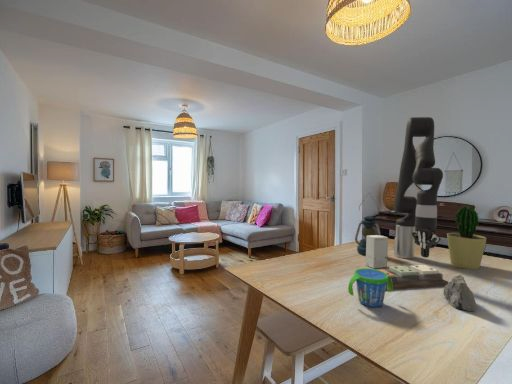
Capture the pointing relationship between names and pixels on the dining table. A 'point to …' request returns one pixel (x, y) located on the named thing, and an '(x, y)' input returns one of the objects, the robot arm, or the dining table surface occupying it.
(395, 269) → the sage button
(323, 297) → the dining table surface
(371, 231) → the lantern
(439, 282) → the button panel
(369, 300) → the snack cup
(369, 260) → the skincare box
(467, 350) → the dining table surface
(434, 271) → the cream button
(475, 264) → the potted cactus
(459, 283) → the mineral rock
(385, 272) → the orange flat square block
